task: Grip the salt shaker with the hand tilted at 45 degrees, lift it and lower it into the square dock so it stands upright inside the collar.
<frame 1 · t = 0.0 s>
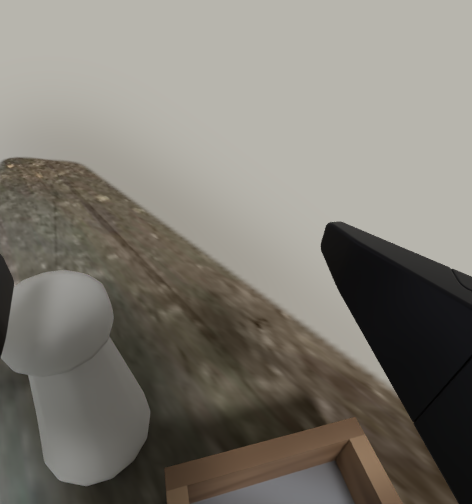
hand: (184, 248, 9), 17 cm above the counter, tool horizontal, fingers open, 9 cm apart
salt shaker: (106, 443, 20), on the counter
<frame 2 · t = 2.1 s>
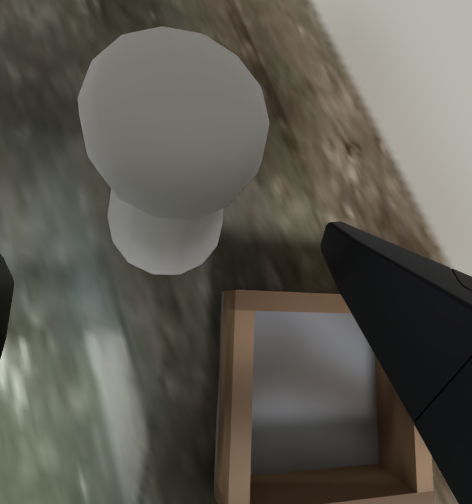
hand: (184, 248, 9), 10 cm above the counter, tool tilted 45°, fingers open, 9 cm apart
shaker dock: (305, 384, 20), on the counter
salt shaker: (166, 230, 19), on the counter
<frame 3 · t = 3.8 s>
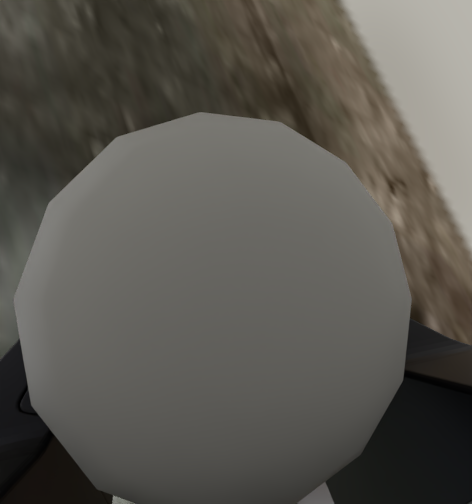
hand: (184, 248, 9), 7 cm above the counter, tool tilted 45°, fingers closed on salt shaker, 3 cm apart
shaker dock: (347, 484, 16), on the counter
salt shaker: (177, 297, 15), on the counter, touching gripper
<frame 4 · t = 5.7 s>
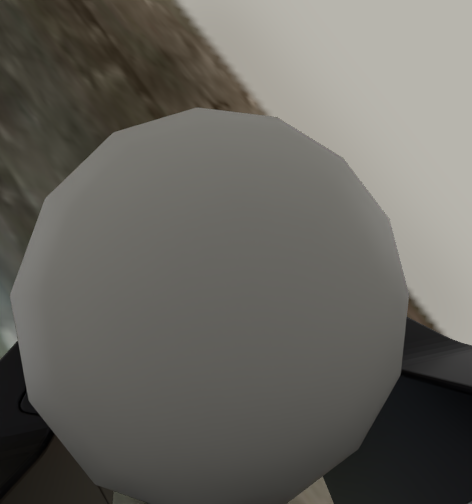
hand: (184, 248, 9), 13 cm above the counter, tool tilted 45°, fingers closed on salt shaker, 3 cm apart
salt shaker: (175, 295, 15), point 7 cm above the counter, touching gripper
when the fingers open (8 cm above the counter, at t = 7.5 s): salt shaker drops 1 cm, resting on shaker dock.
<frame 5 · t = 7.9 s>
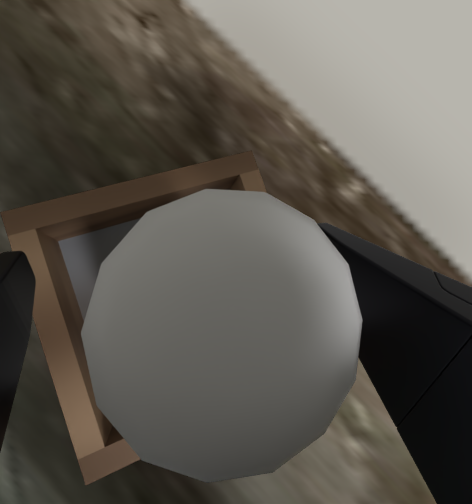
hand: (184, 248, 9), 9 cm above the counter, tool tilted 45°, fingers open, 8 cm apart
shaker dock: (175, 296, 17), on the counter
salt shaker: (175, 301, 17), resting on shaker dock
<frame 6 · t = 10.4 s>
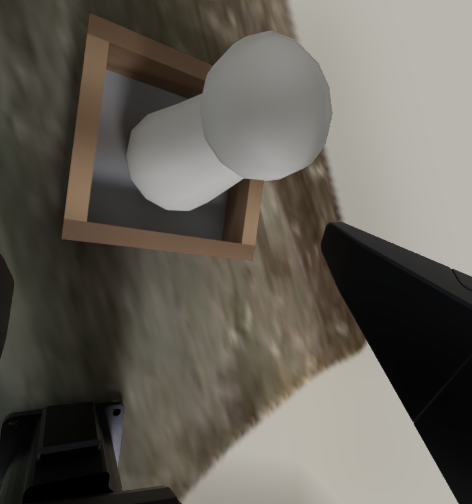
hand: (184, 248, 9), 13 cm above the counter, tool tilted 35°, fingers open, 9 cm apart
shaker dock: (166, 165, 21), on the counter
salt shaker: (166, 168, 21), resting on shaker dock
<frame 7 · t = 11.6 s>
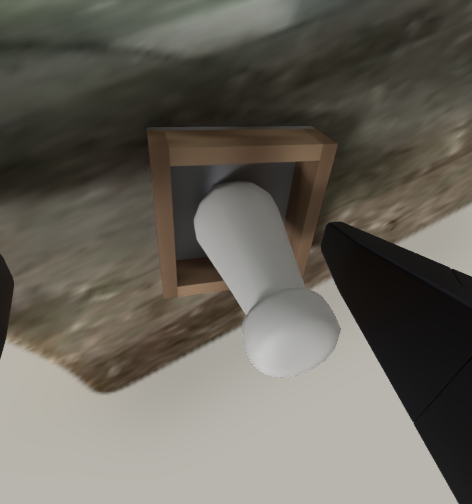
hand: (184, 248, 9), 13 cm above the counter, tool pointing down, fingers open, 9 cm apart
shaker dock: (229, 202, 24), on the counter
salt shaker: (227, 204, 23), resting on shaker dock
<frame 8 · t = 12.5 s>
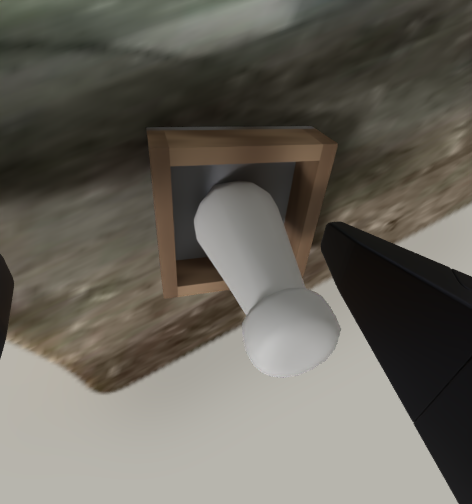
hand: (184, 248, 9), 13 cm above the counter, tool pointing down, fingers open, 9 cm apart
shaker dock: (229, 202, 24), on the counter
salt shaker: (227, 204, 23), resting on shaker dock
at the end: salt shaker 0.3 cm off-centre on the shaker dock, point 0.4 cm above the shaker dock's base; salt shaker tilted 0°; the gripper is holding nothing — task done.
